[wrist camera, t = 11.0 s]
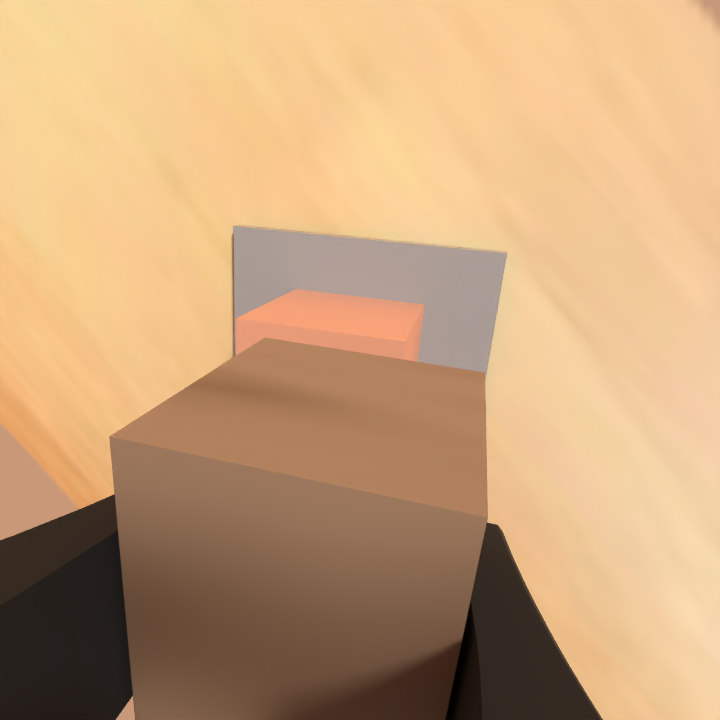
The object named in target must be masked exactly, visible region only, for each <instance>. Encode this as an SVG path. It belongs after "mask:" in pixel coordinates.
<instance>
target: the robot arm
mask: <svg viewBox="0 0 720 720" xmlns="http://www.w3.org/2000/svg"><path fill="white" fill-rule="evenodd" d="M132 696H133V689H132V678H131V667H130V656H129V645H128V635H127V624H126V613H125V602H124V591H123V580H122V569H121V558H120V547H119V536H118V525H117V514H116V503H115V494H114V495H112V496H110V497H107V498H105V499H103V500H100V501H98V502H96V503H94V504H91V505H89V506H87V507H84V508H82V509H79V510H77V511H74V512H72V513H69V514H67V515H64V516H62V517H59V518H57V519H54V520H52V521H49V522H47V523H44V524H42V525H39V526H37V527H34V528H32V529H29V530H27V531H24V532H22V533H19V534H17V535H14V536H12V537H9V538H6V539H3V540H0V720H116V718H117V717H118V715H119V714H120V713H121V711H122V710H123V708H124V707H125V706H126V704H127V703H128V701H129V700H130V699H131V697H132ZM445 720H603V719H602V718H601V716H600V715H599V713H598V711H597V710H596V708H595V707H594V705H593V704H592V702H591V700H590V699H589V697H588V696H587V694H586V692H585V691H584V689H583V687H582V686H581V684H580V682H579V681H578V679H577V677H576V676H575V674H574V672H573V671H572V669H571V667H570V666H569V664H568V662H567V661H566V659H565V657H564V655H563V654H562V652H561V650H560V648H559V647H558V645H557V643H556V641H555V640H554V638H553V636H552V634H551V632H550V630H549V629H548V627H547V625H546V623H545V621H544V619H543V617H542V615H541V614H540V612H539V610H538V608H537V606H536V604H535V602H534V600H533V598H532V596H531V594H530V592H529V590H528V588H527V586H526V584H525V582H524V580H523V578H522V576H521V574H520V571H519V569H518V567H517V565H516V563H515V560H514V558H513V556H512V554H511V551H510V549H509V546H508V544H507V542H506V539H505V536H504V534H503V532H502V530H501V529H500V527H499V526H498V525H495V524H491V523H487V524H486V528H485V533H484V538H483V543H482V547H481V552H480V557H479V562H478V567H477V571H476V576H475V581H474V586H473V590H472V595H471V600H470V605H469V609H468V614H467V619H466V624H465V629H464V633H463V638H462V643H461V648H460V652H459V657H458V662H457V667H456V672H455V676H454V681H453V686H452V691H451V695H450V700H449V705H448V710H447V715H446V719H445Z"/></svg>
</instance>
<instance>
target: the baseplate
mask: <svg viewBox="0 0 720 720" xmlns="http://www.w3.org/2000/svg"><path fill="white" fill-rule="evenodd" d="M506 256H507V252H500V251H490V250H480V249H470V248H460V247H450V246H440V245H430V244H420V243H410V242H400V241H390V240H380V239H370V238H360V237H350V236H340V235H330V234H320V233H310V232H300V231H290V230H280V229H270V228H260V227H250V226H240V225H238V226H234V342H235V356H236V318H238V317H240V316H242V315H244V314H246V313H248V312H250V311H252V310H254V309H256V308H258V307H260V306H262V305H264V304H266V303H269V302H271V301H273V300H275V299H277V298H279V297H281V296H283V295H285V294H287V293H289V292H291V291H293V290H295V289H301V290H310V291H318V292H326V293H335V294H343V295H351V296H359V297H368V298H376V299H384V300H393V301H401V302H409V303H417V304H425V306H424V315H423V323H422V331H421V340H420V348H419V357H418V362H422V363H428V364H434V365H441V366H447V367H453V368H459V369H466V370H472V371H478V372H485V378H486V372H487V367H488V361H489V355H490V349H491V343H492V338H493V332H494V326H495V320H496V314H497V309H498V303H499V297H500V291H501V285H502V279H503V274H504V268H505V262H506Z"/></svg>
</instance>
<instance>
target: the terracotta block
mask: <svg viewBox="0 0 720 720" xmlns="http://www.w3.org/2000/svg"><path fill="white" fill-rule="evenodd" d="M424 306H425V304H417V303H409V302H401V301H393V300H384V299H376V298H368V297H359V296H351V295H343V294H335V293H326V292H318V291H310V290H301V289H295V290H293V291H291V292H289V293H287V294H285V295H283V296H281V297H279V298H277V299H275V300H273V301H271V302H269V303H266V304H264V305H262V306H260V307H258V308H256V309H254V310H252V311H250V312H248V313H246V314H244V315H242V316H240V317H238V318H236V356H237V355H238V354H240V353H241V352H243V351H244V350H246V349H248V348H249V347H251V346H252V345H254V344H255V343H257V342H259V341H260V340H262V339H263V338H271V339H278V340H284V341H290V342H296V343H303V344H309V345H315V346H322V347H328V348H334V349H340V350H347V351H353V352H359V353H365V354H372V355H378V356H384V357H391V358H397V359H403V360H409V361H416V362H418V357H419V348H420V340H421V331H422V323H423V315H424Z"/></svg>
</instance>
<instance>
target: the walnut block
mask: <svg viewBox="0 0 720 720" xmlns="http://www.w3.org/2000/svg"><path fill="white" fill-rule="evenodd" d="M110 448H111V459H112V470H113V481H114V492H115V503H116V514H117V525H118V536H119V547H120V558H121V569H122V580H123V591H124V602H125V613H126V624H127V635H128V645H129V656H130V667H131V678H132V689H133V700H134V711H135V720H445V719H446V715H447V710H448V705H449V700H450V695H451V691H452V686H453V681H454V676H455V672H456V667H457V662H458V657H459V652H460V648H461V643H462V638H463V633H464V629H465V624H466V619H467V614H468V609H469V605H470V600H471V595H472V590H473V586H474V581H475V576H476V571H477V567H478V562H479V557H480V552H481V547H482V543H483V538H484V533H485V528H486V524H487V519H488V506H487V455H486V403H485V372H478V371H472V370H466V369H459V368H453V367H447V366H441V365H434V364H428V363H422V362H416V361H409V360H403V359H397V358H391V357H384V356H378V355H372V354H365V353H359V352H353V351H347V350H340V349H334V348H328V347H322V346H315V345H309V344H303V343H296V342H290V341H284V340H278V339H271V338H263V339H262V340H260V341H259V342H257V343H255V344H254V345H252V346H251V347H249V348H248V349H246V350H244V351H243V352H241V353H240V354H238V355H237V356H235V357H234V358H232V359H230V360H229V361H227V362H226V363H224V364H223V365H221V366H219V367H218V368H216V369H215V370H213V371H212V372H210V373H208V374H207V375H205V376H204V377H202V378H201V379H199V380H197V381H196V382H194V383H193V384H191V385H190V386H188V387H186V388H185V389H183V390H182V391H180V392H179V393H177V394H175V395H174V396H172V397H171V398H169V399H168V400H166V401H164V402H163V403H161V404H160V405H158V406H157V407H155V408H154V409H152V410H150V411H149V412H147V413H146V414H144V415H143V416H141V417H139V418H138V419H136V420H135V421H133V422H132V423H130V424H128V425H127V426H125V427H124V428H122V429H121V430H119V431H117V432H116V433H114V434H113V435H111V436H110Z"/></svg>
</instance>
